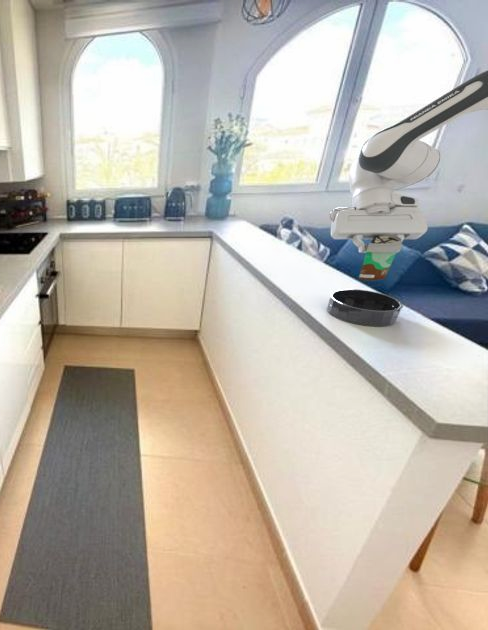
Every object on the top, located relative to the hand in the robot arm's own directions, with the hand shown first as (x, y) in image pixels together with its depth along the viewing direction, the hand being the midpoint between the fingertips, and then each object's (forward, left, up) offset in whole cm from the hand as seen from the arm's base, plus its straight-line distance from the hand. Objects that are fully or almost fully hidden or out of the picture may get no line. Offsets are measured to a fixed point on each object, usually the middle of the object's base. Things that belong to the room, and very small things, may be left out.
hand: (379, 251), depth 90 cm
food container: (0, +2, -6) cm, 7 cm away
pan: (0, 0, -18) cm, 18 cm away
